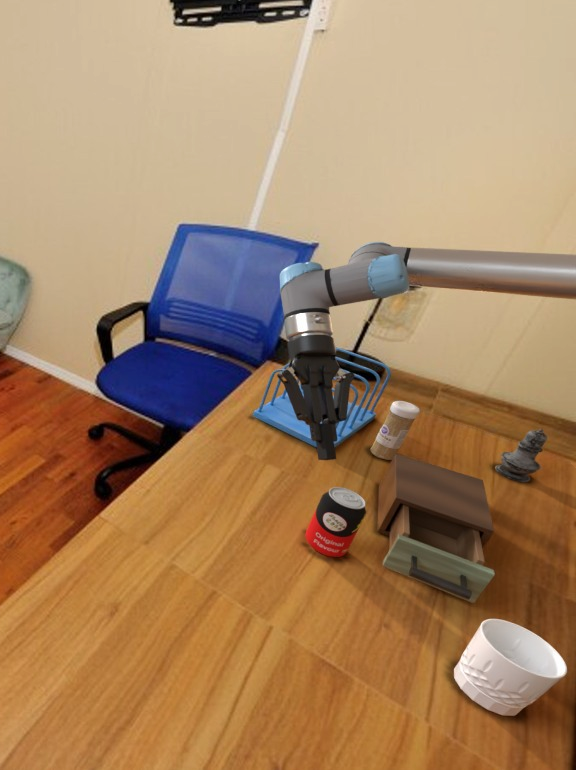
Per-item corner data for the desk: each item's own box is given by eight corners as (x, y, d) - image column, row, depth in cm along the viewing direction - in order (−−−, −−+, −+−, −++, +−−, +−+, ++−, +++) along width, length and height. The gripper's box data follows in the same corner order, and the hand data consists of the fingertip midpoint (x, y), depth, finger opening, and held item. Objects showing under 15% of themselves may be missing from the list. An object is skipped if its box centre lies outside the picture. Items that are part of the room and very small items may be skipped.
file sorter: (327, 454, 116) (351, 398, 108) (251, 417, 129) (268, 365, 122) (374, 419, 127) (399, 366, 120) (300, 388, 140) (318, 339, 133)
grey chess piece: (487, 468, 111) (515, 424, 105) (501, 461, 113) (529, 417, 107) (523, 486, 106) (554, 440, 100) (537, 478, 108) (569, 433, 102)
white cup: (507, 732, 66) (549, 688, 62) (435, 675, 73) (468, 632, 68) (537, 705, 69) (579, 662, 64) (465, 653, 75) (498, 610, 71)
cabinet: (469, 567, 88) (494, 531, 84) (377, 532, 96) (395, 497, 92) (461, 513, 99) (483, 479, 95) (378, 485, 107) (395, 452, 102)
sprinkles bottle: (364, 449, 117) (387, 401, 111) (381, 447, 118) (405, 398, 111) (383, 462, 113) (408, 412, 107) (400, 459, 114) (426, 410, 107)
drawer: (477, 625, 78) (499, 595, 75) (382, 584, 85) (398, 556, 82) (465, 545, 91) (483, 518, 88) (383, 516, 98) (397, 489, 95)
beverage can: (296, 532, 96) (316, 484, 90) (329, 532, 96) (353, 484, 90) (317, 559, 90) (340, 510, 85) (353, 560, 90) (379, 511, 85)
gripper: (284, 331, 97) (301, 455, 91) (358, 333, 96) (380, 460, 89) (265, 343, 105) (278, 458, 98) (333, 345, 103) (352, 463, 96)
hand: (327, 459), depth 94 cm, fingers closed
